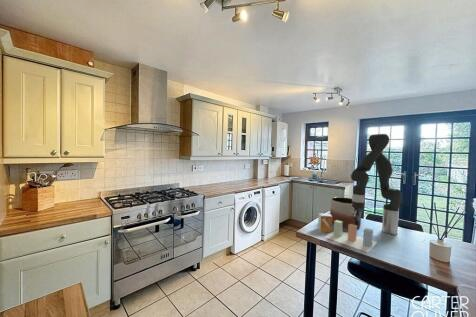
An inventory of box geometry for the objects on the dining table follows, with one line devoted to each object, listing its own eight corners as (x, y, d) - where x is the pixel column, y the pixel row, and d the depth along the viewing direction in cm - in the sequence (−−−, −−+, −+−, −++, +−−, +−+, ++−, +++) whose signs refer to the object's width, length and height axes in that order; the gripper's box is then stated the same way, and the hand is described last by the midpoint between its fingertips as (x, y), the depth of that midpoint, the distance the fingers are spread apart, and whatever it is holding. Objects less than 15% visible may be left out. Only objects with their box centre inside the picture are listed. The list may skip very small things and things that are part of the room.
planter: (367, 228, 157) (368, 203, 156) (343, 231, 151) (345, 204, 150) (345, 218, 178) (346, 196, 177) (324, 220, 173) (325, 197, 172)
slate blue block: (364, 243, 130) (365, 227, 129) (372, 245, 127) (373, 229, 126) (362, 244, 127) (363, 229, 126) (370, 247, 124) (371, 231, 124)
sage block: (335, 233, 143) (336, 220, 142) (341, 235, 140) (342, 221, 139) (333, 235, 140) (334, 221, 140) (339, 237, 137) (340, 222, 137)
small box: (320, 233, 146) (321, 215, 145) (317, 229, 152) (318, 212, 152) (331, 234, 145) (332, 216, 145) (328, 230, 152) (329, 213, 151)
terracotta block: (349, 238, 136) (350, 223, 136) (356, 240, 133) (357, 225, 133) (347, 239, 134) (348, 225, 133) (354, 242, 131) (355, 226, 130)
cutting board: (336, 231, 151) (336, 229, 150) (377, 243, 132) (377, 242, 131) (324, 238, 137) (324, 237, 137) (368, 254, 118) (368, 252, 118)
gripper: (355, 198, 146) (354, 221, 146) (348, 201, 137) (347, 226, 137) (367, 200, 140) (365, 224, 141) (361, 203, 131) (359, 229, 132)
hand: (356, 225), depth 139 cm, fingers closed
